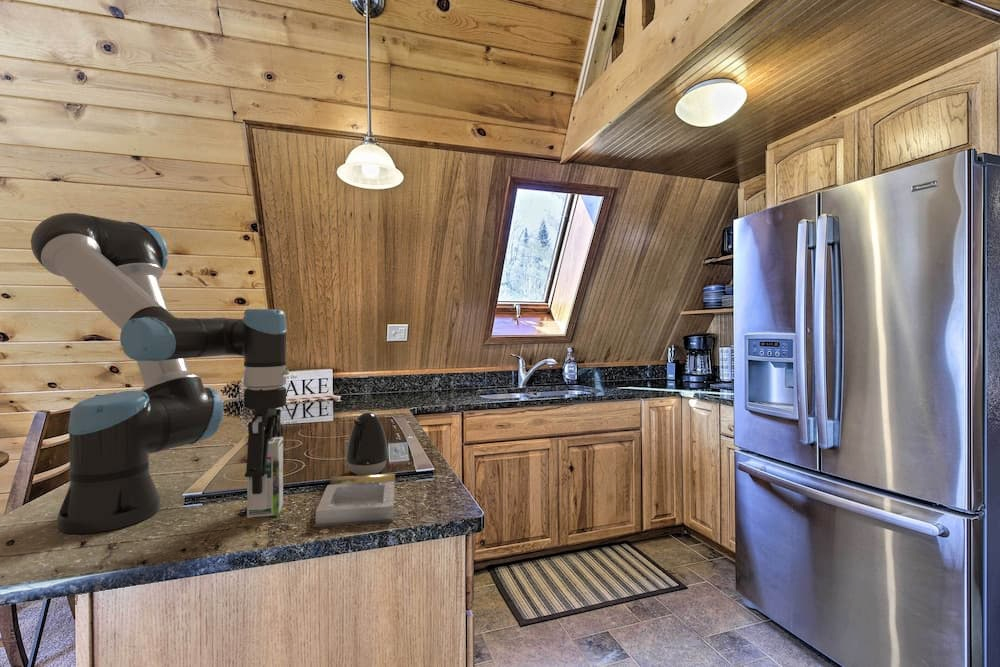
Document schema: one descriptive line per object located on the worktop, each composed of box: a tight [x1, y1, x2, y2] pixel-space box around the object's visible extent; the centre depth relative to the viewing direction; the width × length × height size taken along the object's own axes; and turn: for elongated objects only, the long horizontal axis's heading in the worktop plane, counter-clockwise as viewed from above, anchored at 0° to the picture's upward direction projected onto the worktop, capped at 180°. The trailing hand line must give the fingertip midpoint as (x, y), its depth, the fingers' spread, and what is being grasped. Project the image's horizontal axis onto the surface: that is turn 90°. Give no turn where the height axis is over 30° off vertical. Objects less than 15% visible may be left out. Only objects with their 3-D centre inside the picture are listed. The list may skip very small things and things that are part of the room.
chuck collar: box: [315, 481, 395, 528], centre depth 96 cm, size 14×14×3 cm
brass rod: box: [329, 473, 396, 488], centre depth 108 cm, size 14×3×3 cm, turn 101°
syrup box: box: [246, 436, 284, 519], centre depth 95 cm, size 6×6×14 cm
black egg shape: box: [345, 412, 389, 476], centre depth 119 cm, size 10×10×15 cm
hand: (265, 499), depth 95 cm, fingers open, 9 cm apart
